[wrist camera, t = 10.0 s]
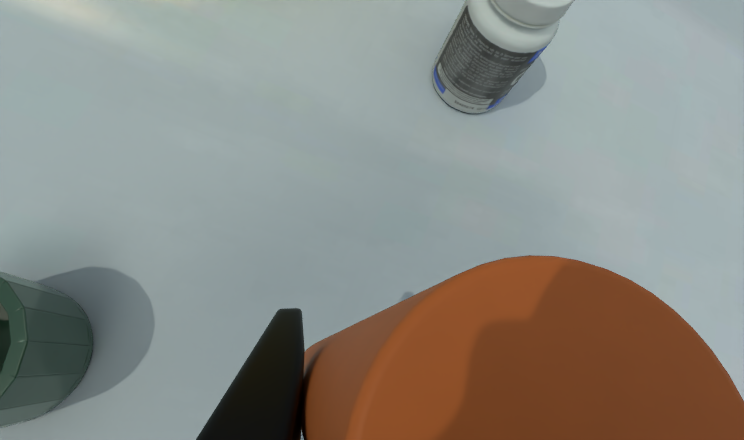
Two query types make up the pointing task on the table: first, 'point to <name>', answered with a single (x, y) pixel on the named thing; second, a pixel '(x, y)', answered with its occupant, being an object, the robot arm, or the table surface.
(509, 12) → the pill bottle
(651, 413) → the orange cylindrical rod
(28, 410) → the green cylindrical container
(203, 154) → the table surface
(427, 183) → the table surface
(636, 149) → the table surface
